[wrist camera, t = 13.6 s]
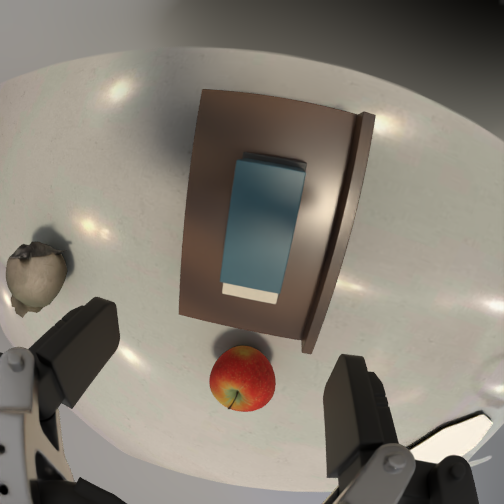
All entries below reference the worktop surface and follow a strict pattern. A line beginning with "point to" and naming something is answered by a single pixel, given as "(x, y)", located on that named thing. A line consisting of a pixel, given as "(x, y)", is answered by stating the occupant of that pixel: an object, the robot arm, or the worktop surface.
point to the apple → (242, 379)
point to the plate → (452, 440)
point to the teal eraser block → (261, 225)
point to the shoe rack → (309, 215)
